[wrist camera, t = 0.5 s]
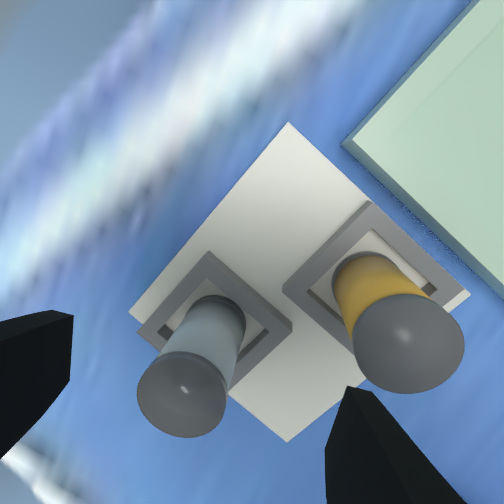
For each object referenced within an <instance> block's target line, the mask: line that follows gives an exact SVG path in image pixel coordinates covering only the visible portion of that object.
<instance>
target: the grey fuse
mask: <svg viewBox="0 0 504 504" xmlns="http://www.w3.org/2000/svg"><path fill="white" fill-rule="evenodd" d="M245 331H246V319H245V315H244V313H243V311H242V310H241V308H240V307H239V306H238V305H237V304H236V303H235V302H234V301H233V300H231V299H229V298H227V297H224V296H221V295H207V296H204V297H201V298H199V299H198V300H196V301H195V302H194V303H193V304H192V305H191V307H190V308H189V310H188V311H187V313H186V315H185V317H184V318H183V320H182V321H181V323H180V324H179V326H178V327H177V329H176V330H175V331H174V333H173V334H172V336H171V337H170V339H169V340H168V342H167V343H166V345H165V346H164V347H163V349H162V350H161V352H160V353H159V355H158V356H157V358H156V359H155V360H154V361H153V362H152V363H151V364H150V365H149V367H148V368H147V370H146V371H145V372H144V374H143V375H142V377H141V379H140V380H139V383H138V387H137V400H138V404H139V407H140V409H141V411H142V413H143V415H144V416H145V417H146V419H147V420H148V421H149V422H150V423H151V424H152V425H153V426H155V427H156V428H158V429H159V430H161V431H163V432H165V433H167V434H169V435H172V436H176V437H183V438H192V437H198V436H202V435H204V434H207V433H208V432H210V431H212V430H213V429H214V428H215V427H216V426H217V425H218V424H219V422H220V421H221V419H222V417H223V414H224V411H225V407H226V403H227V398H228V390H229V387H230V383H231V379H232V376H233V372H234V368H235V365H236V361H237V357H238V353H239V350H240V346H241V343H242V341H243V338H244V335H245Z"/></svg>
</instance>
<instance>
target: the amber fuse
mask: <svg viewBox="0 0 504 504" xmlns="http://www.w3.org/2000/svg"><path fill="white" fill-rule="evenodd" d="M331 285H332V291H333V294H334V297H335V300H336V302H337V304H338V306H339V308H340V311H341V314H342V317H343V320H344V323H345V326H346V328H347V331H348V334H349V337H350V340H351V343H352V349H353V353H354V356H355V359H356V361H357V364H358V367H359V368H360V370H361V372H362V373H363V375H364V376H365V377H366V378H367V379H368V380H369V381H370V382H372V383H373V384H374V385H376V386H378V387H379V388H382V389H384V390H387V391H390V392H394V393H400V394H413V393H420V392H424V391H427V390H430V389H433V388H435V387H437V386H439V385H440V384H442V383H443V382H445V381H446V380H447V379H448V378H450V377H451V375H452V374H453V373H454V372H455V371H456V369H457V368H458V366H459V364H460V362H461V360H462V357H463V353H464V337H463V333H462V330H461V328H460V326H459V325H458V323H457V322H456V320H455V319H454V318H453V317H452V316H451V315H450V314H449V313H448V312H447V311H446V310H445V309H444V308H443V307H441V306H440V305H439V304H438V303H436V302H434V301H433V300H432V299H431V298H430V297H428V296H427V295H426V294H425V293H424V292H423V291H422V290H421V289H420V288H419V287H418V286H417V285H416V284H415V283H414V282H412V281H411V280H410V279H409V278H408V277H407V276H406V275H405V274H404V273H403V272H402V271H401V270H400V269H399V267H398V266H397V265H396V264H395V263H394V262H393V261H392V260H391V259H389V258H388V257H387V256H385V255H383V254H381V253H378V252H373V251H361V252H357V253H354V254H352V255H350V256H348V257H346V258H345V259H344V260H342V261H341V262H340V263H339V265H338V266H337V267H336V269H335V271H334V273H333V276H332V283H331Z"/></svg>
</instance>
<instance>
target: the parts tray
mask: <svg viewBox="0 0 504 504" xmlns="http://www.w3.org/2000/svg"><path fill="white" fill-rule="evenodd" d="M341 145H342V146H343V147H344V148H345V149H346V150H347V151H348V152H349V153H350V154H351V155H352V156H353V157H354V158H355V159H356V160H357V161H358V162H360V163H361V164H362V165H363V166H364V167H365V168H366V169H367V170H368V171H369V172H370V173H371V174H372V175H373V176H374V177H375V178H376V179H377V180H378V181H379V182H381V183H382V184H383V185H384V186H385V187H386V188H387V189H388V190H389V191H390V192H391V193H392V194H393V195H394V196H395V197H396V198H397V199H398V200H399V201H400V202H401V203H403V204H404V205H405V206H406V207H407V208H408V209H409V210H410V211H411V212H412V213H413V214H414V215H415V216H416V217H417V218H418V219H419V220H420V221H421V222H422V223H424V224H425V225H426V226H427V227H428V228H429V229H430V230H431V231H432V232H433V233H434V234H435V235H436V236H437V237H438V238H439V239H440V240H441V241H442V242H443V243H444V244H446V245H447V246H448V247H449V248H450V249H451V250H452V251H453V252H454V253H455V254H456V255H457V256H458V257H459V258H460V259H461V260H462V261H463V262H464V263H465V264H467V265H468V266H469V267H470V268H471V269H472V270H473V271H474V272H475V273H476V274H477V275H478V276H479V277H480V278H481V279H482V280H483V281H484V282H485V283H486V284H487V285H489V286H490V287H491V288H492V289H493V290H494V291H495V292H496V293H497V294H498V295H499V296H500V297H501V298H502V299H503V300H504V0H472V1H471V2H470V3H469V4H468V5H467V6H466V7H465V9H464V10H463V11H462V12H461V13H460V14H459V15H458V16H457V17H456V18H455V20H454V21H453V22H452V23H451V24H450V25H449V26H448V27H447V28H446V29H445V30H444V32H443V33H442V34H441V35H440V36H439V37H438V38H437V39H436V40H435V41H434V42H433V44H432V45H431V46H430V47H429V48H428V49H427V50H426V51H425V52H424V53H423V54H422V56H421V57H420V58H419V59H418V60H417V61H416V62H415V63H414V64H413V65H412V67H411V68H410V69H409V70H408V71H407V72H406V73H405V74H404V75H403V76H402V77H401V79H400V80H399V81H398V82H397V83H396V84H395V85H394V86H393V87H392V88H391V89H390V91H389V92H388V93H387V94H386V95H385V96H384V97H383V98H382V99H381V100H380V101H379V103H378V104H377V105H376V106H375V107H374V108H373V109H372V110H371V111H370V112H369V114H368V115H367V116H366V117H365V118H364V119H363V120H362V121H361V122H360V123H359V124H358V126H357V127H356V128H355V129H354V130H353V131H352V132H351V133H350V134H349V135H348V136H347V138H346V139H345V140H344V141H343V142H342V143H341Z"/></svg>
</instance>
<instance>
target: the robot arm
mask: <svg viewBox="0 0 504 504" xmlns="http://www.w3.org/2000/svg"><path fill="white" fill-rule="evenodd" d="M73 319H74V315H70V314H66V313H62V312H58V311H54V310H48V311H42V312H37V313H33V314H29V315H24V316H20V317H16V318H12V319H9V320H5V321H1V322H0V459H1V458H2V457H3V456H4V455H5V454H6V453H7V452H8V451H9V450H10V449H11V448H12V447H13V446H14V445H15V444H16V443H17V442H18V441H19V440H20V439H21V438H22V437H23V436H24V435H25V434H26V433H27V431H28V430H29V429H30V428H31V427H32V426H33V425H34V424H35V423H36V422H37V421H38V420H39V419H40V418H41V417H42V416H43V414H44V413H45V412H46V411H47V410H48V408H49V407H50V406H51V405H52V403H53V402H54V401H55V400H56V398H57V397H58V396H59V394H60V393H61V392H62V390H63V389H64V388H65V386H66V385H67V384H68V382H69V381H70V366H71V350H72V334H73ZM325 483H326V499H327V504H467V503H466V502H465V501H464V500H463V499H462V498H461V497H460V496H459V495H458V494H457V492H456V491H455V490H454V489H453V488H452V487H451V486H450V484H449V483H448V482H447V481H446V480H445V479H444V478H443V476H442V475H441V474H440V473H439V472H438V471H437V469H436V468H435V467H434V466H433V465H432V464H431V462H430V461H429V460H428V459H427V458H426V456H425V455H424V454H423V453H422V452H421V450H420V449H419V448H418V447H417V446H416V444H415V443H414V442H413V441H412V440H411V438H410V437H409V436H408V435H407V433H406V432H405V431H404V430H403V429H402V427H401V426H400V425H399V424H398V422H397V421H396V420H395V419H394V418H393V416H392V415H391V414H390V413H389V411H388V410H387V409H386V408H385V407H384V405H383V404H382V403H381V402H380V401H379V400H378V398H377V397H376V396H375V395H374V394H373V393H372V392H371V391H367V390H363V389H359V388H355V387H351V386H347V387H346V390H345V393H344V395H343V398H342V401H341V404H340V407H339V410H338V413H337V416H336V418H335V421H334V424H333V427H332V430H331V433H330V436H329V439H328V441H327V444H326V447H325Z"/></svg>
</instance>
